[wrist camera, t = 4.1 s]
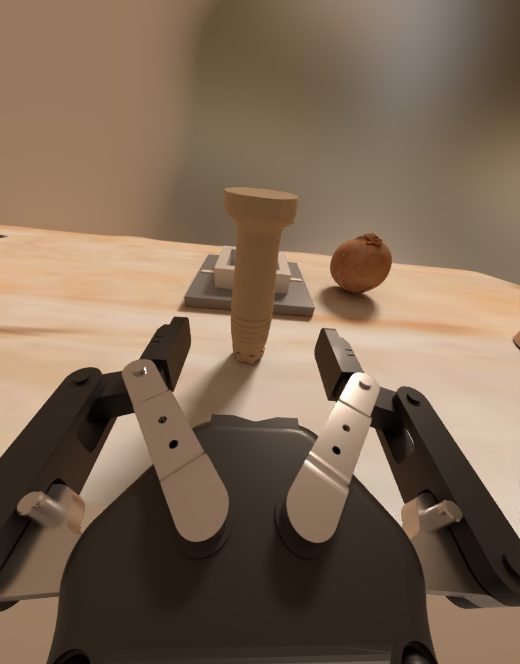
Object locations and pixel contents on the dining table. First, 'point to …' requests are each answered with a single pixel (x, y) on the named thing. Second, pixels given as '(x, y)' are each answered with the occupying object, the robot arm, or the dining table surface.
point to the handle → (255, 263)
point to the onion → (361, 264)
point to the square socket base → (218, 279)
